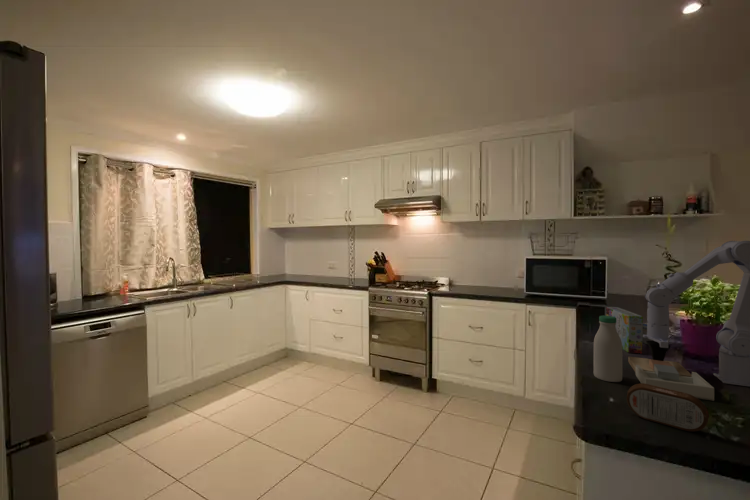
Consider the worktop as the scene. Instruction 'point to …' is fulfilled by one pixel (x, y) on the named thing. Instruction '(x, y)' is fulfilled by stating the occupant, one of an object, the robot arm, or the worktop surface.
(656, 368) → the slate tile
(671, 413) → the tin
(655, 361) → the terracotta tile
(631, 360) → the board
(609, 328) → the milk bottle
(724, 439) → the worktop surface
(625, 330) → the snack box
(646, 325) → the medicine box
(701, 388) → the tray
